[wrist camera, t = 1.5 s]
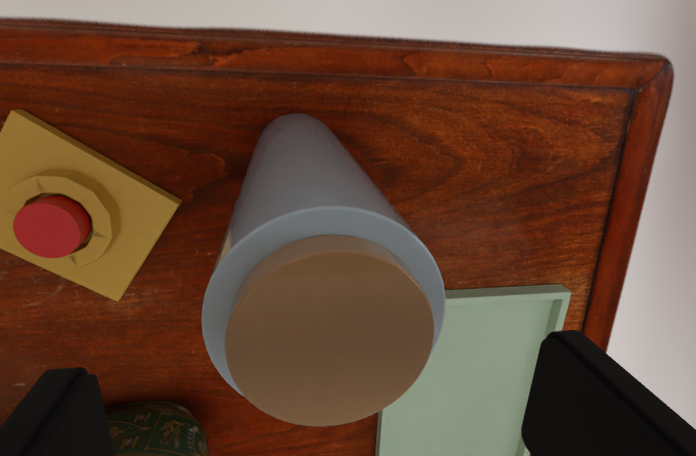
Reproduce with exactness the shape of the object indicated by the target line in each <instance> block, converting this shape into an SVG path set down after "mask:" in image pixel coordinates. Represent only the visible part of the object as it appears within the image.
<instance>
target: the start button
mask: <svg viewBox="0 0 696 456" xmlns="http://www.w3.org/2000/svg"><path fill="white" fill-rule="evenodd" d="M13 230H14V234H15V236H16V238H17V240H18V241H19V243H20V244H21V245H22V246H23V247H24V248H25V249H27V250H28V251H29V252H31V253H33V254H35V255H38V256H41V257H45V258H60V257H64V256H67V255H69V254H70V253H72V252H73V251H74V250H75V249H77V248H78V247H79V246H80V245H81V244H82V243H83V242H85V240H86V239H87V238H88V236H89V234H90V230H91V224H90V219H89V217H88V215H87V213H86V212H85V210H84V209H83V208H82V207H81V206H80V205H79V204H77V203H76V202H74V201H73V200H71V199H68V198H65V197H62V196H46V197H42V198H40V199H38V200H36V201H34V202H32V203H30V204H28V205H27V206H25V207H23V208H22V209H20V210H19V211H18V213H17V214H16V216H15V218H14V222H13Z"/></svg>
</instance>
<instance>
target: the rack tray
mask: <svg viewBox="0 0 696 456" xmlns="http://www.w3.org/2000/svg"><path fill="white" fill-rule="evenodd" d="M445 296H446V309H445V317H444V324H443V327H442V330H441V334H440V337H439V339H438V341H437V344H436V346H435V348H434V350H433V351H432V353H431V355H430V356H429V359H428V361H427V363H426V365H425V368H424V369H423V371H422V372H421V374H420V376H419V377H418V379H417V380H416V381H415V382H414V384H413V385H412V386H411V387H410V388H409V389H408V390H407V391H406V392H405V393H404V394H403V395H402V396H401V397H400V398H398V399H397V400H396V401H395V402H393V403H392V404H390V405H389V406H387V407H386V408H384V409H383V410H381V411H379V412H378V423H377V437H376V450H375V456H529V455H530V452H529V451H528V449H527V448H526V446H525V444H524V442H523V440H522V435H521V427H522V422H523V418H524V414H525V409H526V405H527V401H528V396H529V392H530V388H531V383H532V379H533V375H534V370H535V366H536V362H537V357H538V353H539V349H540V344H541V342H542V341H543V340H544V339H546V337H547V335H548V334H549V333H550V332H554V331H562V328H563V324H564V320H565V316H566V312H567V308H568V304H569V301H570V296H571V291H570V290H568V289H567V288H566V287H564V286H563V285H562V284H554V285H535V286H516V287H497V288H478V289H459V290H445Z"/></svg>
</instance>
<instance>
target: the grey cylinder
mask: <svg viewBox="0 0 696 456" xmlns="http://www.w3.org/2000/svg"><path fill="white" fill-rule="evenodd" d="M445 309H446V296H445V289H444V282H443V279H442V276H441V273H440V270H439V268H438V265H437V263H436V261H435V259H434V257H433V256H432V254H431V253H430V252H429V250H428V249H427V247H426V246H425V245H424V243H423V242H422V241H421V240H420V238H419V237H418V236H417V235H416V234H415V232H414V231H413V230H412V229H411V227H410V226H409V225H408V224H407V223H406V221H405V220H404V219H403V218H402V217H401V215H400V214H399V213H398V212H397V210H396V209H395V208H394V207H393V206H392V204H391V203H390V202H389V201H388V199H387V198H386V197H385V196H384V195H383V193H382V192H381V191H380V190H379V189H378V187H377V186H376V185H375V184H374V182H373V181H372V180H371V179H370V178H369V176H368V175H367V174H366V173H365V171H364V170H363V169H362V168H361V167H360V165H359V164H358V163H357V162H356V160H355V159H354V158H353V157H352V156H351V154H350V153H349V152H348V151H347V150H346V148H345V147H344V146H343V145H342V143H341V142H340V141H339V140H338V139H337V137H336V136H335V135H334V134H333V132H332V131H331V130H330V129H329V128H328V127H327V126H326V125H325V124H324V123H323V122H322V121H320V120H318V119H317V118H315V117H312V116H310V115H306V114H298V113H294V114H287V115H283V116H281V117H278V118H277V119H275V120H273V121H272V122H271V123H269V124H268V125H267V126H266V127H265V128H264V130H263V131H262V132H261V134H260V136H259V138H258V141H257V144H256V146H255V149H254V152H253V155H252V158H251V161H250V164H249V167H248V170H247V173H246V175H245V178H244V181H243V184H242V187H241V190H240V193H239V196H238V199H237V202H236V204H235V207H234V210H233V213H232V216H231V219H230V222H229V225H228V228H227V231H226V233H225V236H224V239H223V242H222V245H221V248H220V251H219V254H218V257H217V260H216V262H215V265H214V268H213V271H212V274H211V277H210V280H209V283H208V286H207V289H206V291H205V296H204V300H203V305H202V317H201V323H202V333H203V338H204V342H205V345H206V349H207V351H208V353H209V356H210V358H211V360H212V362H213V364H214V366H215V367H216V369H217V370H218V372H219V373H220V375H221V376H222V377H223V378H224V379H225V380H226V381H227V383H228V384H229V385H230V386H232V387H233V388H234V389H235V390H236V391H237V392H238V393H240V394H241V395H243V396H244V397H246V398H247V399H248V400H249V401H250V402H251V403H252V404H253V405H255V406H256V407H257V408H259V409H260V410H262V411H263V412H265V413H267V414H269V415H271V416H273V417H275V418H277V419H280V420H283V421H286V422H290V423H294V424H298V425H306V426H333V425H340V424H346V423H350V422H354V421H357V420H360V419H363V418H366V417H368V416H371V415H373V414H375V413H377V412H379V411H381V410H383V409H384V408H386V407H387V406H389V405H390V404H392V403H393V402H395V401H396V400H397V399H398V398H400V397H401V396H402V395H403V394H404V393H405V392H406V391H407V390H408V389H409V388H410V387H411V386H412V385H413V384H414V382H415V381H416V380H417V379H418V377H419V376H420V374H421V372H422V371H423V369H424V368H425V365H426V363H427V361H428V359H429V356H430V355H431V353H432V351H433V350H434V348H435V346H436V344H437V341H438V339H439V337H440V334H441V330H442V327H443V324H444V317H445Z"/></svg>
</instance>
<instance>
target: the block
mask: <svg viewBox="0 0 696 456" xmlns="http://www.w3.org/2000/svg"><path fill="white" fill-rule="evenodd" d="M46 196H62V197H65V198H68V199H71V200H73V201H74V202H76V203H77V204H79V205H80V206H81V207H82V208H83V209H84V210H85V212H86V213H87V215H88V217H89V219H90V224H91V230H90V234H89V236H88V238H87V239H86V240H85V242H83V243H82V244H81V245H80V246H79V247H78V248H77V249H75V250H74V251H73V252H72V253H70V254H69V255H67V256H64V257H60V258H45V257H41V256H38V255H35V254H33V253H31V252H29V251H28V250H27V249H25V248H24V247H23V246H22V245H21V244H20V243H19V241H18V240H17V238H16V236H15V234H14V230H13V222H14V218H15V216H16V214H17V213H18V211H19V210H20V209H22V208H23V207H25V206H27V205H28V204H30V203H32V202H34V201H36V200H38V199H40V198H42V197H46ZM181 202H182V200H181V199H179V198H177V197H175V196H174V195H172V194H170V193H168V192H167V191H165V190H163V189H161V188H160V187H158V186H156V185H154V184H153V183H151V182H149V181H147V180H146V179H144V178H142V177H140V176H138V175H137V174H135V173H133V172H131V171H130V170H128V169H126V168H124V167H123V166H121V165H119V164H117V163H116V162H114V161H112V160H110V159H109V158H107V157H105V156H103V155H102V154H100V153H98V152H96V151H95V150H93V149H91V148H89V147H88V146H86V145H84V144H82V143H81V142H79V141H77V140H75V139H73V138H72V137H70V136H68V135H66V134H65V133H63V132H61V131H59V130H58V129H56V128H54V127H52V126H51V125H49V124H47V123H45V122H44V121H42V120H40V119H38V118H37V117H35V116H33V115H31V114H30V113H28V112H26V111H24V110H23V109H16V110H11V111H10V114H9V116H8V118H7V120H6V122H5V124H4V126H3V128H2V130H1V132H0V249H2V250H5V251H7V252H9V253H11V254H13V255H16V256H18V257H20V258H22V259H24V260H27V261H29V262H31V263H33V264H35V265H38V266H40V267H42V268H44V269H46V270H49V271H51V272H53V273H55V274H57V275H60V276H62V277H64V278H66V279H68V280H71V281H73V282H75V283H77V284H79V285H82V286H84V287H86V288H88V289H90V290H93V291H95V292H97V293H99V294H101V295H103V296H106V297H108V298H110V299H112V300H114V301H117V302H118V301H119V300H120V299H121V297H122V296H123V295H124V293H125V291H126V290H127V288H128V287H129V285H130V283H131V282H132V280H133V279H134V277H135V275H136V274H137V272H138V271H139V269H140V267H141V266H142V264H143V263H144V261H145V259H146V258H147V256H148V255H149V253H150V252H151V250H152V248H153V247H154V245H155V244H156V242H157V240H158V239H159V237H160V236H161V234H162V232H163V231H164V229H165V228H166V226H167V224H168V223H169V221H170V220H171V218H172V216H173V215H174V213H175V212H176V210H177V208H178V207H179V205H180V204H181Z"/></svg>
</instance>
